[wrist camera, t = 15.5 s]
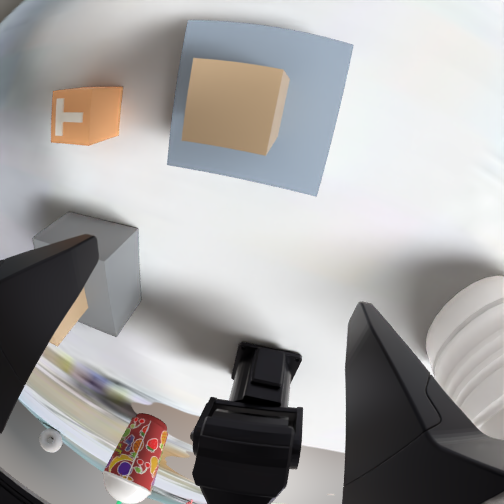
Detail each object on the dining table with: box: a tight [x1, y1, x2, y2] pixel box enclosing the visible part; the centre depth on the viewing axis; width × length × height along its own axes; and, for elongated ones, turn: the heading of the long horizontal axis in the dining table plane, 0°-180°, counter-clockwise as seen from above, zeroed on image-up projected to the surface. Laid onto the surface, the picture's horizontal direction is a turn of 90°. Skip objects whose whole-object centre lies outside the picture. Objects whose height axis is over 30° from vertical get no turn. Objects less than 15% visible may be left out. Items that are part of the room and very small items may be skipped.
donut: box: [39, 428, 62, 452], centre depth 69 cm, size 10×4×10 cm, turn 90°
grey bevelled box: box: [32, 212, 141, 346], centre depth 22 cm, size 8×8×10 cm
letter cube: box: [51, 87, 123, 146], centre depth 18 cm, size 4×4×4 cm
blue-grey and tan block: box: [167, 20, 353, 197], centre depth 13 cm, size 8×8×10 cm
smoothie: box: [102, 413, 168, 504], centre depth 36 cm, size 8×8×20 cm
